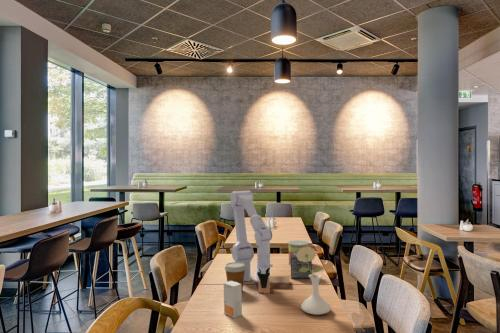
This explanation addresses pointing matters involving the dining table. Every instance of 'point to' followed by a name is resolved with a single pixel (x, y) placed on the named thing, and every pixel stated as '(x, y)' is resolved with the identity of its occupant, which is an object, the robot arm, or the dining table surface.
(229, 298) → the skincare box
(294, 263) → the small box
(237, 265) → the disposable coffee cup
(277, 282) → the walnut block
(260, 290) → the terracotta cube
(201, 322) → the dining table surface
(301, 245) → the canned food
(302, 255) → the flower in vase
